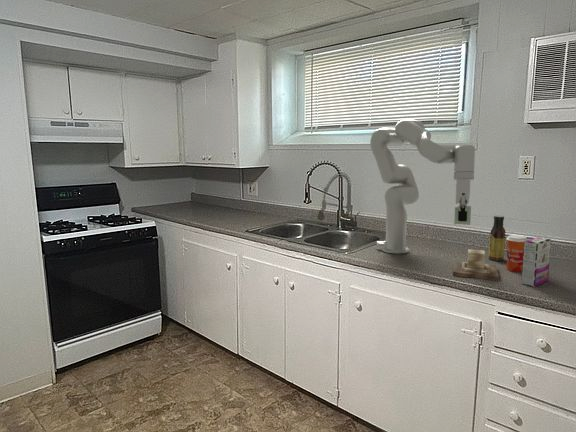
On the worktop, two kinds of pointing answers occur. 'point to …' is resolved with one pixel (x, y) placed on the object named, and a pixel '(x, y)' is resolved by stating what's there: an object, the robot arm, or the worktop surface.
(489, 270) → the base plate
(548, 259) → the candy bar box
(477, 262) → the maple block
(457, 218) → the sage block
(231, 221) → the worktop surface
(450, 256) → the worktop surface
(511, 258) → the paper cup
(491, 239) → the sauce bottle
